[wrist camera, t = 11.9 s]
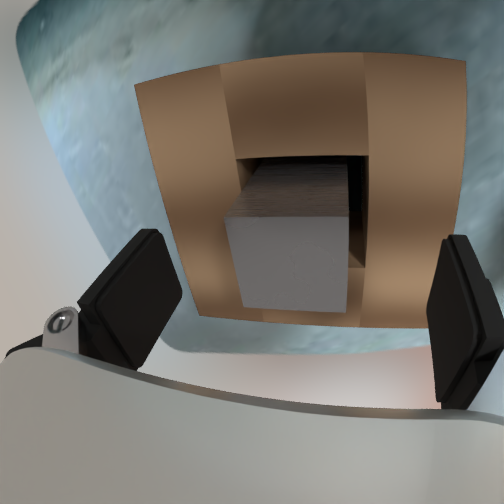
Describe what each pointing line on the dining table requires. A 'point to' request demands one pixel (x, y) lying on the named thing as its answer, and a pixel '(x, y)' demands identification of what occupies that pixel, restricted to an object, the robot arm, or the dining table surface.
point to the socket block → (306, 144)
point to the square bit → (292, 234)
